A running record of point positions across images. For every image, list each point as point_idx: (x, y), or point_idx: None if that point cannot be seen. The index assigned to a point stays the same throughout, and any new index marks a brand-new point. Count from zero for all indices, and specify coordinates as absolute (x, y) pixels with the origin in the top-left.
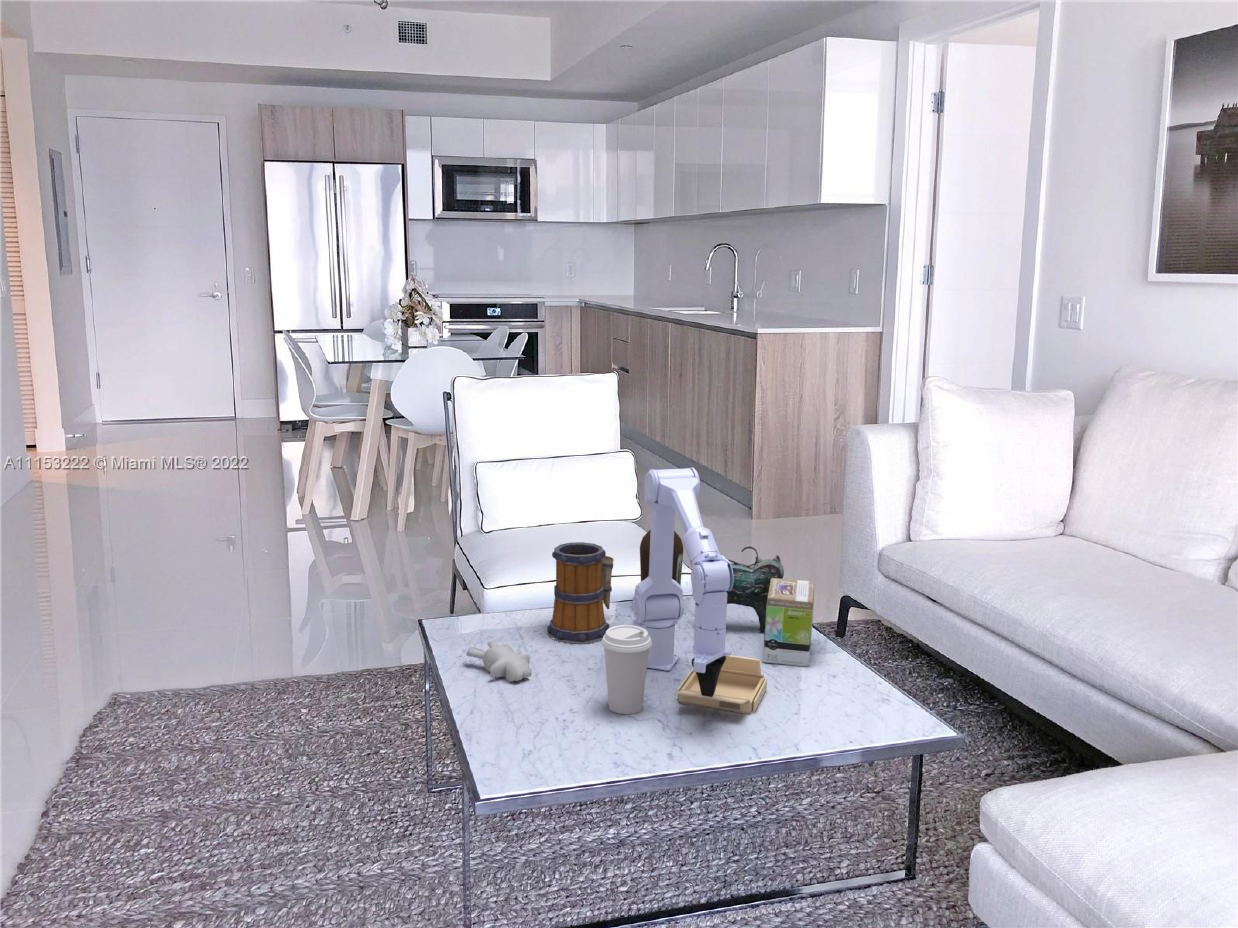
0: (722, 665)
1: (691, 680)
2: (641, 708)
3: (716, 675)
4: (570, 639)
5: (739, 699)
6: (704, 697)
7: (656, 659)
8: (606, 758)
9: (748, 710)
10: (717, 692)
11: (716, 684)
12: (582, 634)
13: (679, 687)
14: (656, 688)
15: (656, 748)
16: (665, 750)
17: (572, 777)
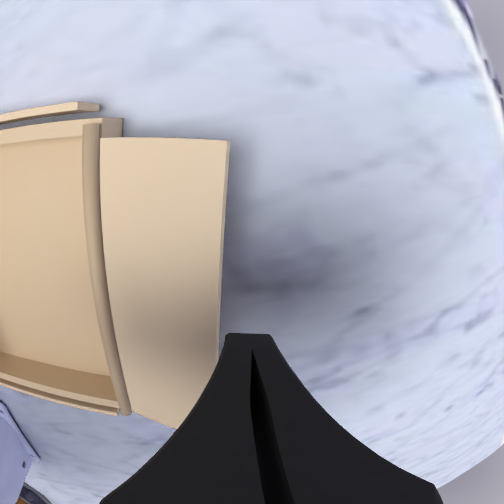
0: (182, 483)
1: (29, 378)
2: None
3: (365, 446)
4: (41, 501)
5: (107, 179)
6: (218, 355)
7: (4, 437)
8: (463, 409)
9: (115, 127)
10: (18, 285)
11: (229, 367)
12: (28, 499)
13: (102, 411)
14: (91, 427)
15: (443, 359)
16: (454, 339)
17: (499, 412)
